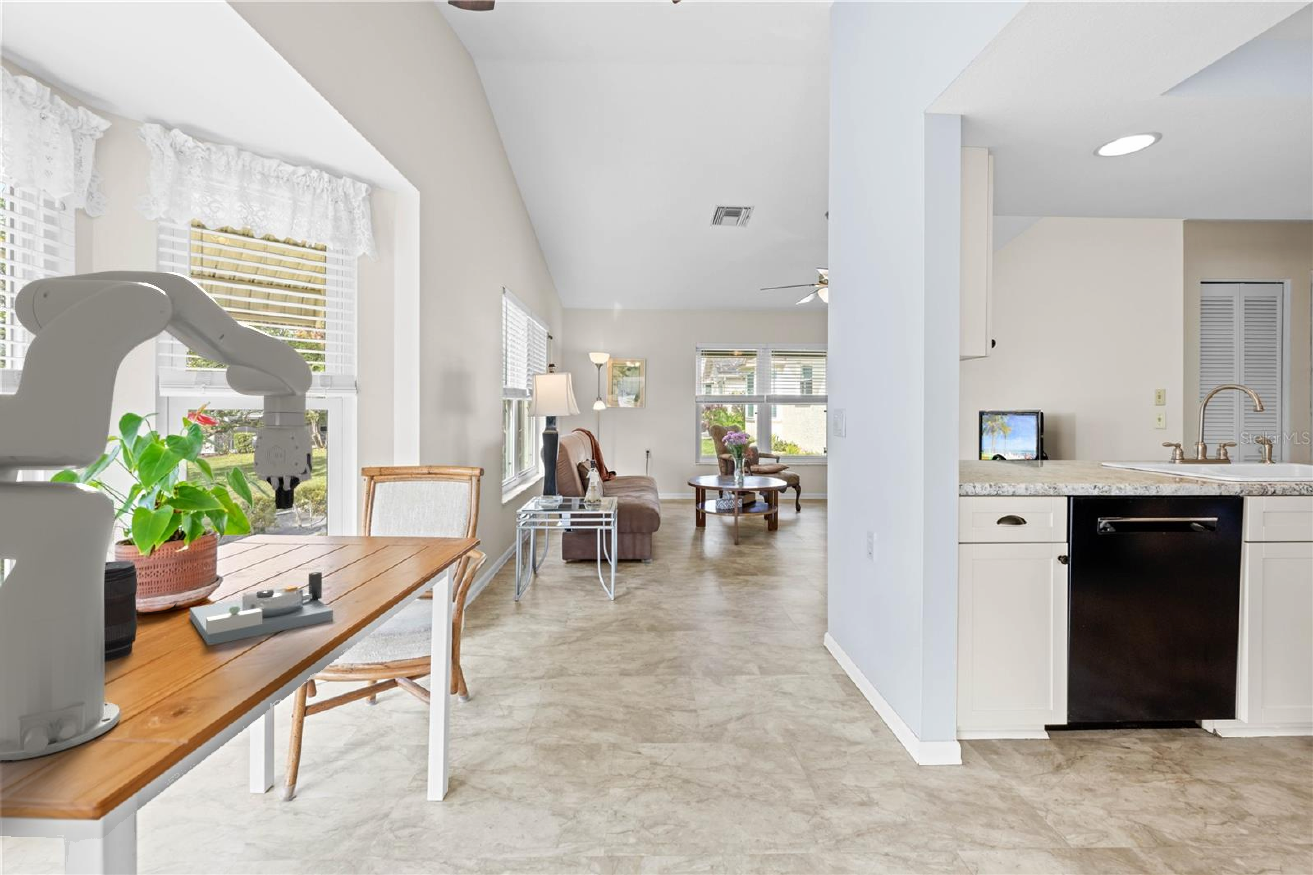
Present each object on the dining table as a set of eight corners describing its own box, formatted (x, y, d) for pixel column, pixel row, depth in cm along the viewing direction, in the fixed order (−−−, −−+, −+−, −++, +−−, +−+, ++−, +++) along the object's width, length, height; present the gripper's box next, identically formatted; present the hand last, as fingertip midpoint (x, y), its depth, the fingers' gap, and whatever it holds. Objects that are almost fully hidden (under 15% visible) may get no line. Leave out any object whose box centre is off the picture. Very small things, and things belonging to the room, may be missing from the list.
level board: (333, 620, 118) (333, 590, 118) (208, 645, 103) (208, 611, 103) (303, 598, 132) (303, 571, 132) (189, 618, 118) (189, 588, 117)
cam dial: (260, 620, 110) (261, 592, 110) (231, 611, 115) (231, 585, 115) (335, 600, 123) (335, 575, 123) (306, 593, 128) (306, 569, 128)
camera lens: (61, 659, 97) (61, 568, 96) (124, 643, 104) (124, 558, 104) (83, 669, 93) (82, 574, 93) (146, 652, 100) (146, 564, 100)
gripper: (236, 420, 121) (236, 510, 121) (309, 422, 121) (309, 511, 121) (261, 421, 128) (261, 505, 129) (330, 422, 128) (329, 506, 129)
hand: (284, 508), depth 125 cm, fingers closed
